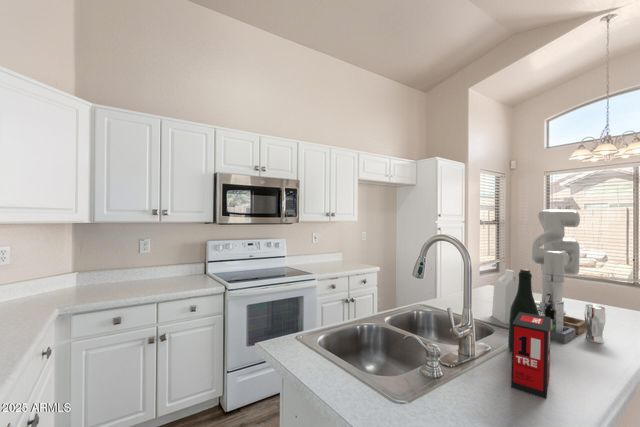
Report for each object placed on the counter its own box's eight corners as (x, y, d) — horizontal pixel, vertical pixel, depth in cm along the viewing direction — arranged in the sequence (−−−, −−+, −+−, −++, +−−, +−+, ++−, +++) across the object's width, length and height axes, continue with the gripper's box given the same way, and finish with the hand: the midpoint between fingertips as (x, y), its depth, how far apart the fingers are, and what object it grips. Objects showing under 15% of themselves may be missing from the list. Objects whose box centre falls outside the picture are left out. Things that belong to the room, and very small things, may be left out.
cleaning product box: (546, 399, 90) (547, 331, 90) (511, 387, 96) (512, 323, 96) (549, 377, 103) (550, 317, 103) (518, 368, 109) (519, 311, 109)
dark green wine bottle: (533, 349, 125) (535, 268, 125) (544, 361, 115) (546, 272, 115) (504, 345, 127) (506, 266, 128) (512, 357, 117) (514, 270, 118)
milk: (527, 324, 155) (528, 272, 155) (504, 323, 155) (505, 272, 155) (513, 316, 167) (514, 268, 167) (491, 315, 167) (492, 268, 167)
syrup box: (541, 330, 142) (542, 298, 142) (550, 328, 144) (551, 297, 144) (554, 334, 136) (554, 302, 136) (563, 333, 138) (564, 301, 138)
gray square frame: (530, 333, 142) (530, 325, 142) (541, 328, 149) (541, 320, 149) (564, 343, 131) (564, 334, 131) (575, 337, 138) (575, 328, 138)
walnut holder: (545, 326, 151) (545, 317, 151) (555, 322, 159) (555, 313, 159) (578, 335, 141) (578, 326, 141) (587, 330, 148) (587, 321, 148)
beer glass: (586, 341, 134) (587, 307, 134) (582, 336, 140) (582, 303, 140) (607, 345, 131) (608, 309, 131) (602, 339, 137) (602, 305, 137)
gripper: (551, 274, 148) (550, 311, 148) (536, 278, 138) (535, 318, 138) (570, 277, 142) (569, 316, 142) (556, 281, 132) (555, 323, 132)
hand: (552, 316), depth 140 cm, fingers closed on syrup box, 7 cm apart
